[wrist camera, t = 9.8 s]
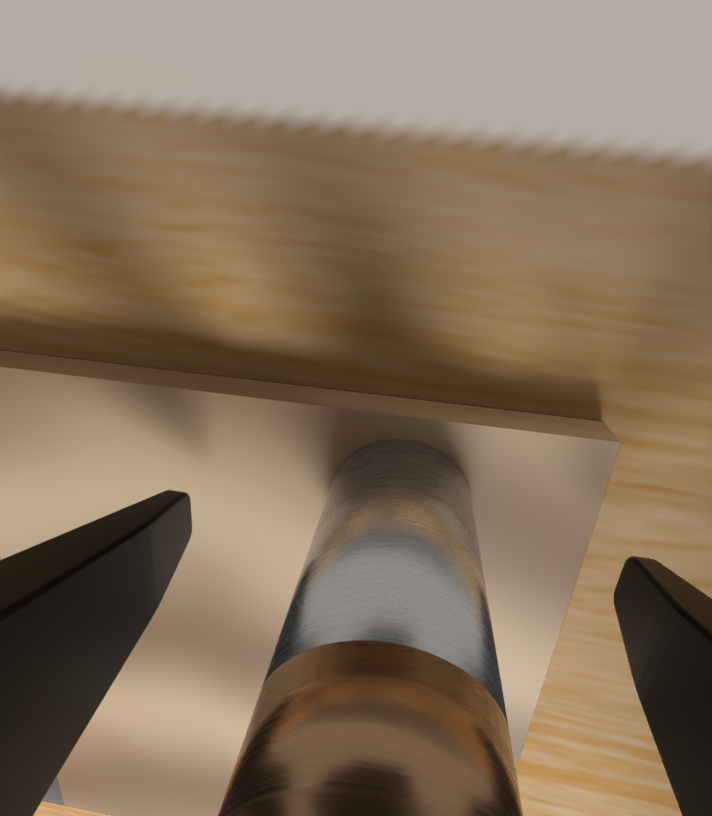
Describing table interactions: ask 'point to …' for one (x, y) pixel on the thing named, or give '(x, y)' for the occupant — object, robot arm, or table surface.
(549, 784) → the table surface
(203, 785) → the beige flat piece
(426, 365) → the table surface
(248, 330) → the table surface
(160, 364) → the table surface
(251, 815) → the metal peg
